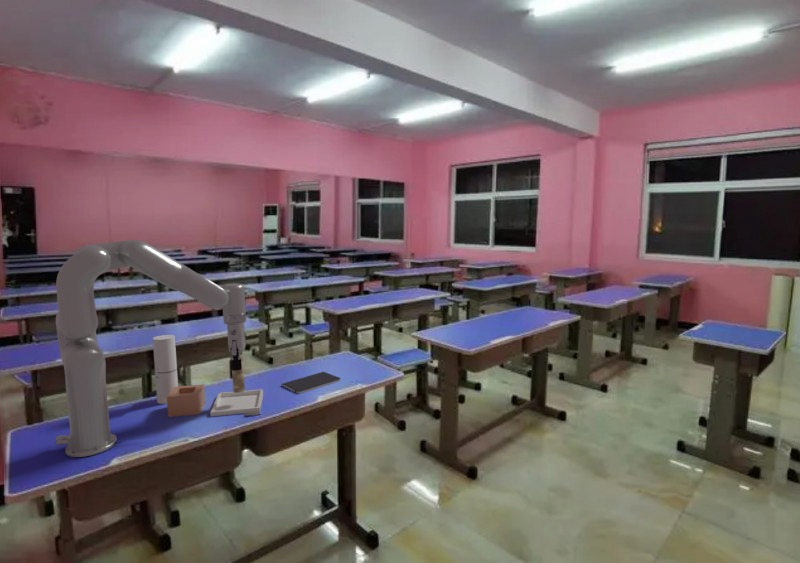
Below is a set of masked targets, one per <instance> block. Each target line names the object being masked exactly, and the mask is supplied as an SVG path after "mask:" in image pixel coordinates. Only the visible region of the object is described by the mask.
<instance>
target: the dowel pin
mask: <svg viewBox="0 0 800 563" xmlns="http://www.w3.org/2000/svg"><path fill="white" fill-rule="evenodd" d="M230 359H231V362H232V355H231V356H230ZM240 359H241V364H242V369H241V370H234V371H233V370H232V369H231V372H232V373H231V375H232V377H231V378H232V392H235V393H239V392H243V391H246V386H245V382H246V381H245V368H244V367H245V366H244V364H245V363H244V355H243V354H242V355H241V354H240Z"/></svg>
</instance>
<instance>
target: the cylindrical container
mask: <svg viewBox="0 0 800 563" xmlns="http://www.w3.org/2000/svg"><path fill="white" fill-rule="evenodd" d="M152 345H153V346H152V348H153V360H154V376H155V389H156V403H158V404H160V405H167V396H168V395H169V393H170V392H171V391H172V389H173V388H174V387H177V386H179V380H178V379H179V378H178V365H177V364H178V363H177V362H178V361H177V350H176V335H174V334H162V335H156V336H154V337H152Z"/></svg>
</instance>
